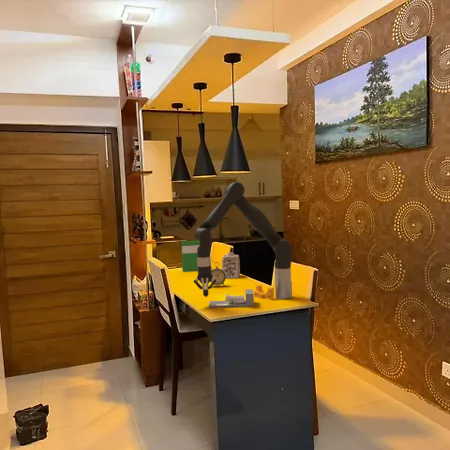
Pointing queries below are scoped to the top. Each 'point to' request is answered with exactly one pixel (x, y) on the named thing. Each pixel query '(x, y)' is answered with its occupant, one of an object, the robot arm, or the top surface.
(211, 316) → the top surface
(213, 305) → the base
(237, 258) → the decorative jar
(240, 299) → the block
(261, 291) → the pipe clamp
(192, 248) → the hardback book
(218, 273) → the alarm clock
